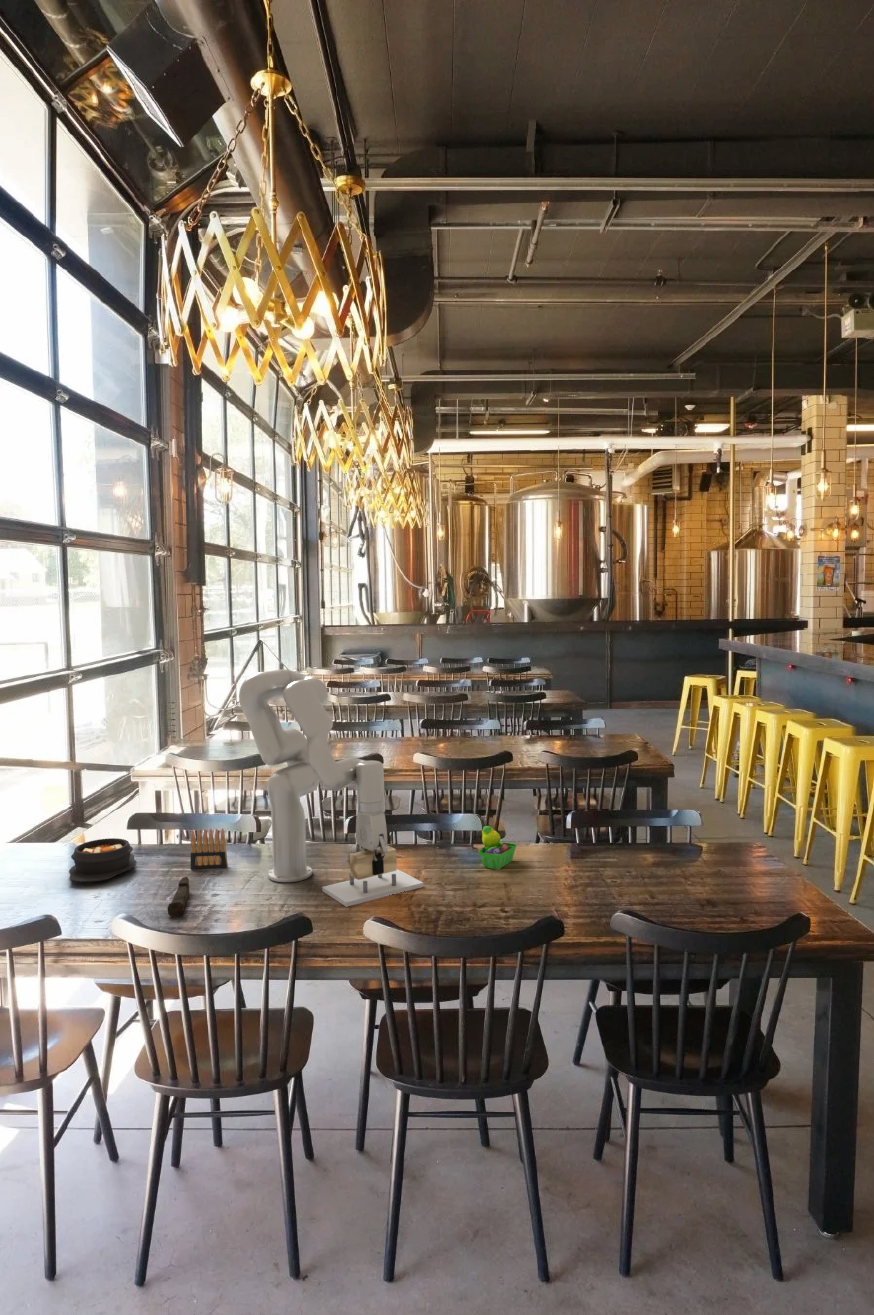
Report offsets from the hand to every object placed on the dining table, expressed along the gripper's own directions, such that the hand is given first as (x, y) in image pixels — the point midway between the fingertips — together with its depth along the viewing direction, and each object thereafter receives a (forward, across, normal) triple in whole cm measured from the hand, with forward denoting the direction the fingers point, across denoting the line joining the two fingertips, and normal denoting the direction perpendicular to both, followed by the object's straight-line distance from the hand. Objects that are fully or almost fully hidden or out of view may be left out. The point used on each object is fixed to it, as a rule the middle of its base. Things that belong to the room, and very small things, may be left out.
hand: (373, 870), depth 224 cm
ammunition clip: (+5, -45, -31) cm, 55 cm away
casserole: (+4, -60, -58) cm, 84 cm away
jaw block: (+1, 0, 0) cm, 1 cm away
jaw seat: (+5, 0, 0) cm, 5 cm away
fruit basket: (+6, +4, +40) cm, 40 cm away
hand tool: (+5, -22, -47) cm, 52 cm away
